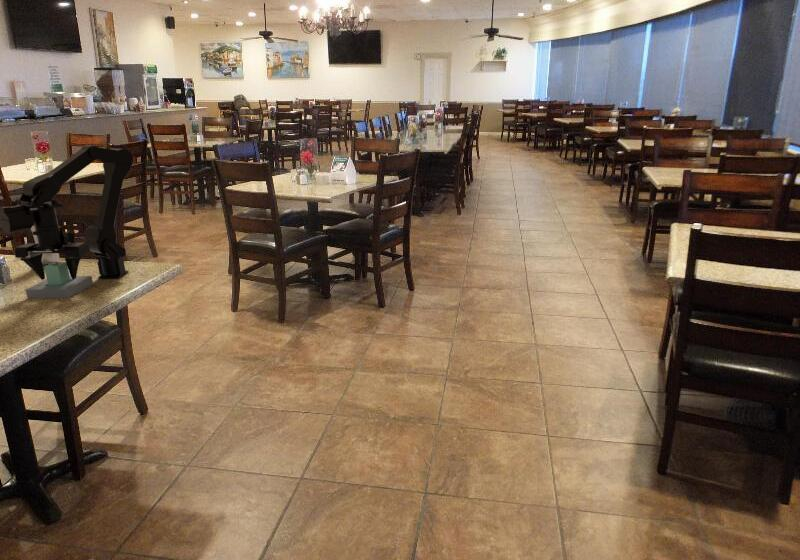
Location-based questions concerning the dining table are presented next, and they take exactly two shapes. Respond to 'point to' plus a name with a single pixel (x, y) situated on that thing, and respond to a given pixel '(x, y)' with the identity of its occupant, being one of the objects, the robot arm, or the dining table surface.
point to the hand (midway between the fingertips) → (58, 279)
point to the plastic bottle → (46, 257)
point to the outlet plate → (59, 288)
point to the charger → (57, 273)
